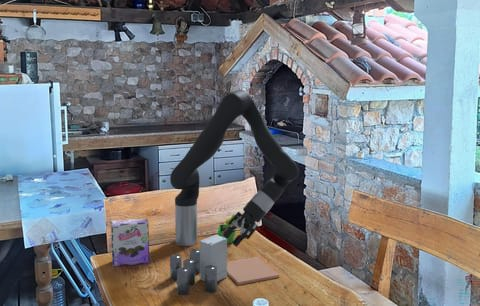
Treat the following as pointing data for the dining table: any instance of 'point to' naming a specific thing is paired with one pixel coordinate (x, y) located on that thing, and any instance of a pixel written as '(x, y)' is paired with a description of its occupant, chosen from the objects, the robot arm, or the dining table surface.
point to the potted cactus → (223, 228)
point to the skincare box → (213, 255)
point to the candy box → (130, 242)
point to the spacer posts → (191, 272)
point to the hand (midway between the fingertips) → (229, 240)
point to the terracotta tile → (250, 270)
